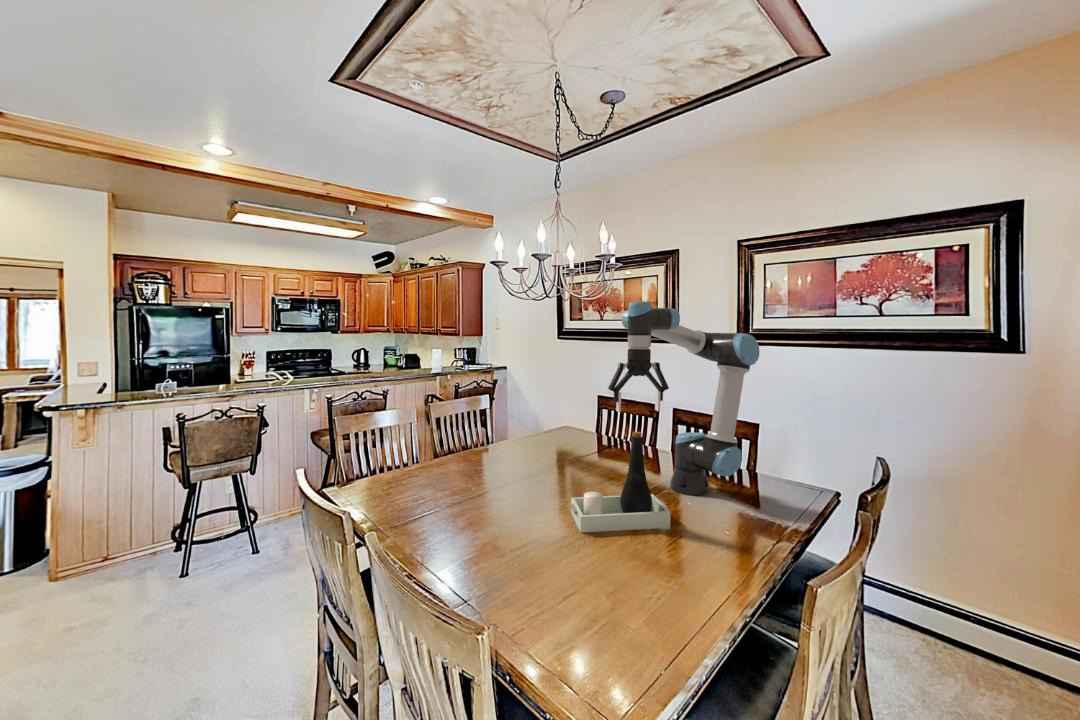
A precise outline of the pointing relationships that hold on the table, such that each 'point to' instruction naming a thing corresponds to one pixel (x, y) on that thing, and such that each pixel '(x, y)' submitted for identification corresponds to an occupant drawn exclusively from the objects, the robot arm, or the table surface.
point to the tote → (620, 516)
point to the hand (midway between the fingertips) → (638, 411)
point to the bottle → (636, 481)
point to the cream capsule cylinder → (593, 503)
